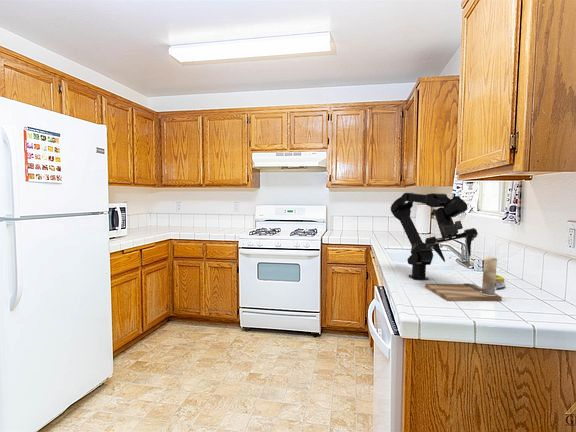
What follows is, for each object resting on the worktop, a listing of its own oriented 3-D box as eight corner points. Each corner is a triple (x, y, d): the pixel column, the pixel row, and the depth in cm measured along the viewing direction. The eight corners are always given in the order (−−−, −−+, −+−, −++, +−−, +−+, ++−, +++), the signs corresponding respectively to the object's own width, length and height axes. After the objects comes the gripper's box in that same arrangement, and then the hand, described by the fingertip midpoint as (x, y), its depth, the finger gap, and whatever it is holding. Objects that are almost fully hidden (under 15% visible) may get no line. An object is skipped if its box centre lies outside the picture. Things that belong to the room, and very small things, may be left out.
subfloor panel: (425, 287, 137) (425, 282, 137) (473, 287, 138) (473, 283, 138) (447, 300, 120) (447, 295, 120) (501, 300, 122) (501, 295, 121)
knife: (510, 293, 133) (501, 278, 155) (510, 286, 133) (502, 273, 155) (487, 290, 136) (482, 276, 159) (487, 283, 136) (482, 271, 159)
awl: (480, 293, 124) (482, 258, 123) (483, 291, 127) (486, 256, 126) (492, 295, 121) (495, 259, 120) (496, 293, 124) (498, 258, 123)
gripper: (421, 221, 133) (432, 260, 127) (472, 209, 128) (487, 249, 122) (421, 229, 143) (431, 265, 137) (469, 218, 137) (482, 255, 132)
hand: (457, 259), depth 131 cm, fingers open, 9 cm apart
